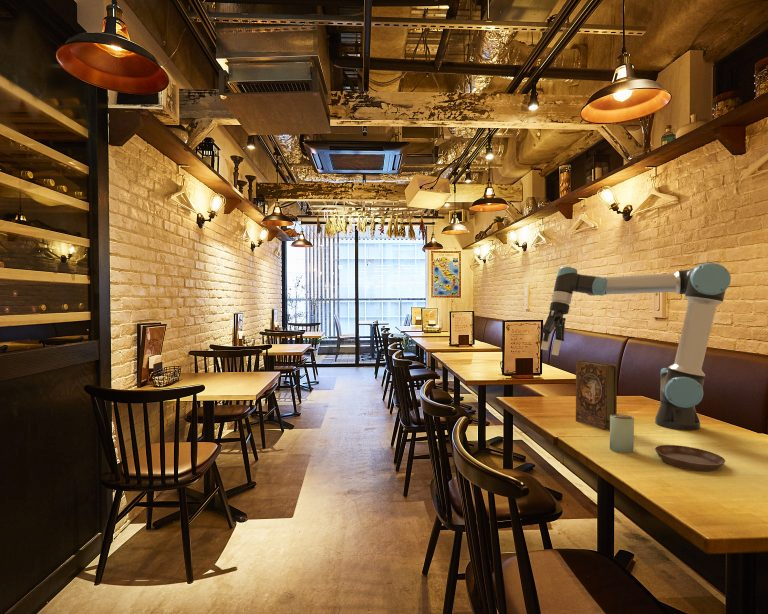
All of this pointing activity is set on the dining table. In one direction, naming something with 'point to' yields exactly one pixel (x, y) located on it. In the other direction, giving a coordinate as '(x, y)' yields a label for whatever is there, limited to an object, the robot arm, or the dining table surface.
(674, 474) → the dining table surface
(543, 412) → the dining table surface
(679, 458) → the plant saucer
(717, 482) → the dining table surface
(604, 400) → the book
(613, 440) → the pale green cup
